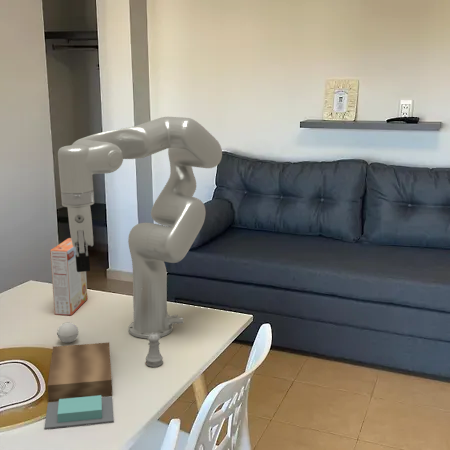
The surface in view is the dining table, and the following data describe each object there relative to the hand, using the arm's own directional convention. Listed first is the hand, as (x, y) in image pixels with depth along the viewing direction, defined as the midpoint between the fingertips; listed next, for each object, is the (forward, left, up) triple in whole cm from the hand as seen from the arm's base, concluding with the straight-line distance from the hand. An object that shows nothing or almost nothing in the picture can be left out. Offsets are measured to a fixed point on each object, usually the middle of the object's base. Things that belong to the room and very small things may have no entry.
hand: (83, 270), depth 145 cm
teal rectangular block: (+1, +25, -22) cm, 33 cm away
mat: (+1, +24, -24) cm, 35 cm away
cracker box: (+5, -39, -25) cm, 46 cm away
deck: (+1, +8, -24) cm, 26 cm away
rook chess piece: (-17, +4, -25) cm, 30 cm away
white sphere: (+5, -12, -25) cm, 28 cm away
